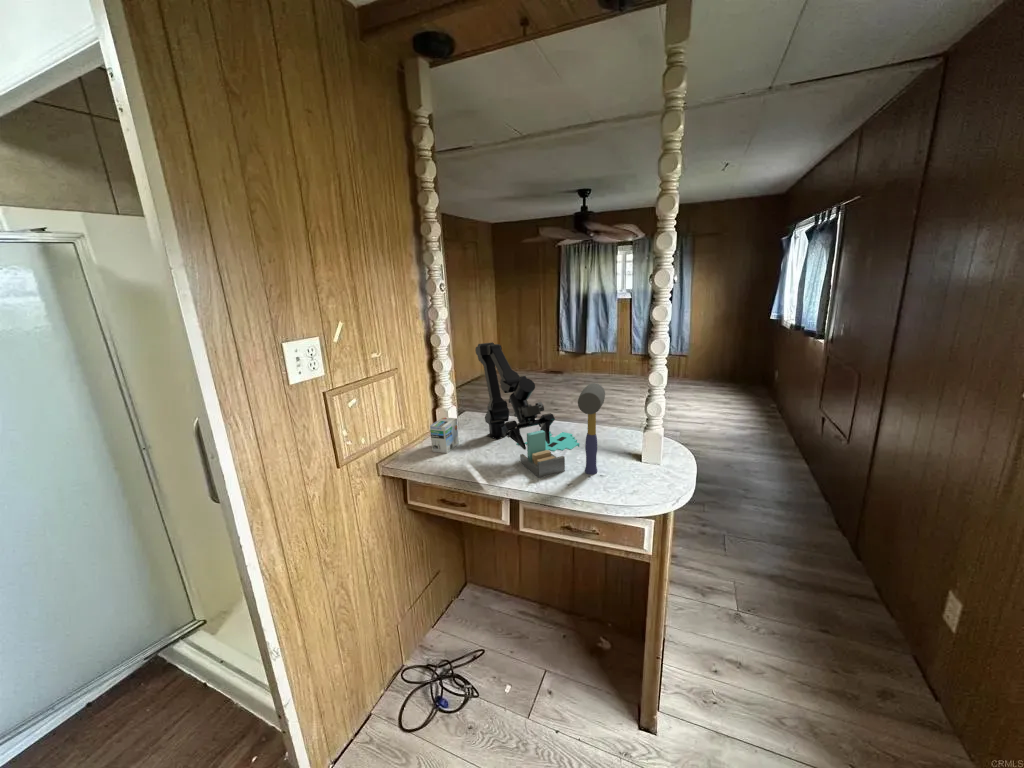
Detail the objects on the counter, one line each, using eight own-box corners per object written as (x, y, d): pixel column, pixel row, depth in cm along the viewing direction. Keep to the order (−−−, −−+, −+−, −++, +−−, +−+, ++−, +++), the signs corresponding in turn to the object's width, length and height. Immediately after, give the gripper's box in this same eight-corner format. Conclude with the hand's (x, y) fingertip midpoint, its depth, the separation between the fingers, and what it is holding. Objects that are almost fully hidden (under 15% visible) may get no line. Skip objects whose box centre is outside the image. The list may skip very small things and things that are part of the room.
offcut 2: (537, 471, 129) (536, 459, 128) (552, 466, 131) (552, 455, 130) (540, 473, 127) (539, 462, 126) (555, 469, 130) (555, 458, 129)
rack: (518, 465, 137) (518, 448, 135) (543, 459, 141) (543, 442, 139) (538, 482, 124) (538, 463, 123) (565, 475, 129) (565, 456, 127)
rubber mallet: (600, 486, 120) (601, 392, 113) (575, 483, 123) (576, 391, 115) (605, 468, 132) (606, 382, 124) (582, 466, 134) (583, 381, 127)
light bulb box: (447, 453, 149) (444, 427, 146) (431, 452, 151) (428, 425, 148) (459, 442, 159) (457, 417, 156) (444, 441, 161) (442, 416, 158)
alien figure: (516, 449, 151) (561, 461, 140) (516, 443, 151) (561, 455, 139) (544, 432, 167) (587, 442, 155) (544, 427, 166) (587, 437, 154)
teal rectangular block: (527, 463, 134) (526, 433, 132) (542, 459, 137) (542, 430, 134) (530, 465, 133) (529, 435, 130) (545, 461, 135) (545, 431, 132)
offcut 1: (532, 467, 131) (532, 453, 130) (548, 463, 134) (547, 449, 133) (535, 469, 130) (535, 455, 128) (551, 465, 132) (550, 452, 131)
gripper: (503, 399, 129) (519, 441, 122) (551, 391, 137) (569, 430, 130) (495, 415, 138) (510, 456, 131) (541, 406, 146) (557, 444, 139)
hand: (537, 446), depth 133 cm, fingers open, 9 cm apart
